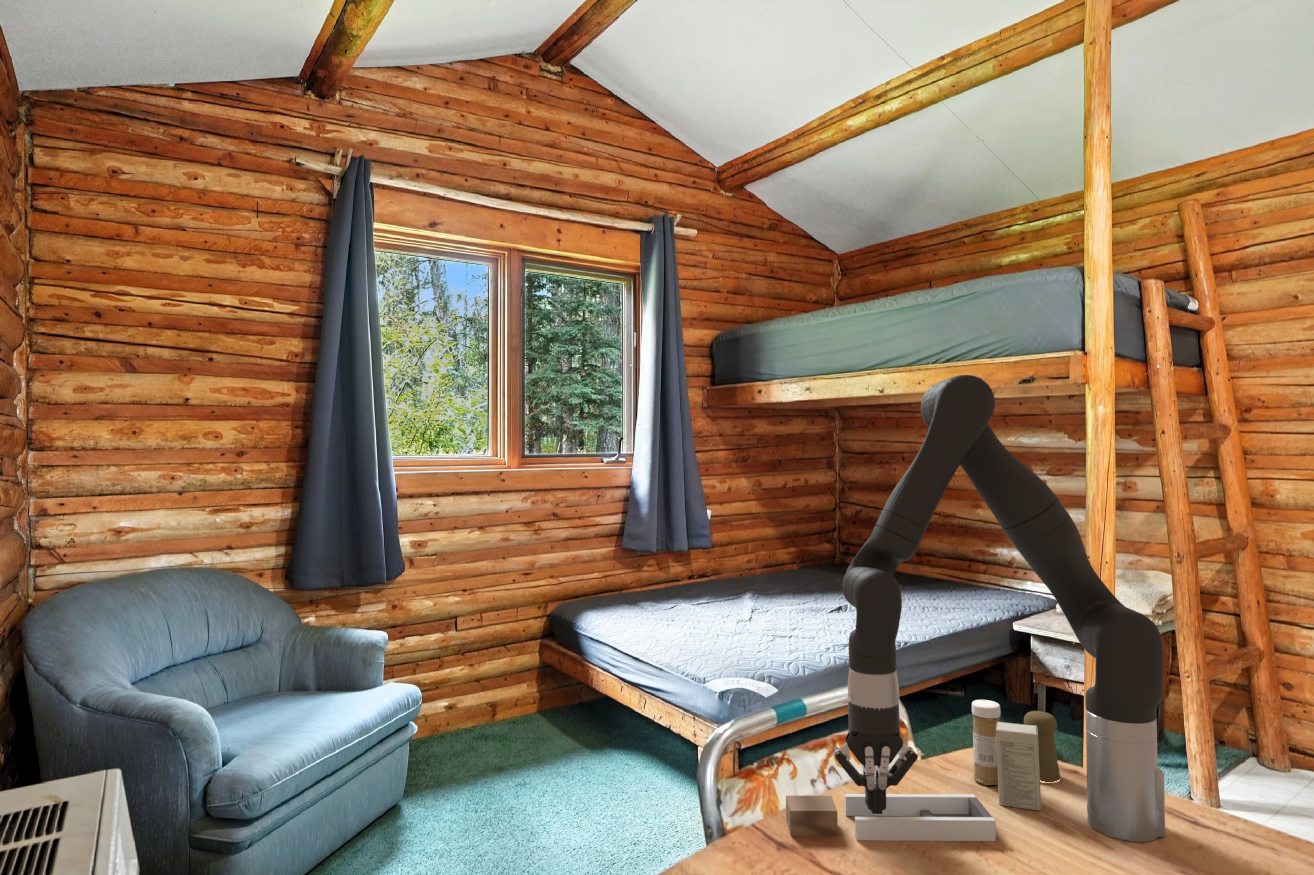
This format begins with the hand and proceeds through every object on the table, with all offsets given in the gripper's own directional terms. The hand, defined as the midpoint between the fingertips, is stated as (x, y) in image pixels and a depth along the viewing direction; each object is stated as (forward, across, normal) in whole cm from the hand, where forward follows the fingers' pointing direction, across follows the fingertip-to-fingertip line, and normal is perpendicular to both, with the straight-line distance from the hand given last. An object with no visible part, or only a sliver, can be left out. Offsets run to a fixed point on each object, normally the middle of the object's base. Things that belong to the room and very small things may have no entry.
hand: (875, 811), depth 119 cm
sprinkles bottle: (+3, -23, -16) cm, 28 cm away
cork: (+3, -33, -18) cm, 38 cm away
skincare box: (+3, -25, -8) cm, 26 cm away
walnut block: (+2, +10, 0) cm, 10 cm away
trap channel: (+2, -6, 0) cm, 7 cm away
